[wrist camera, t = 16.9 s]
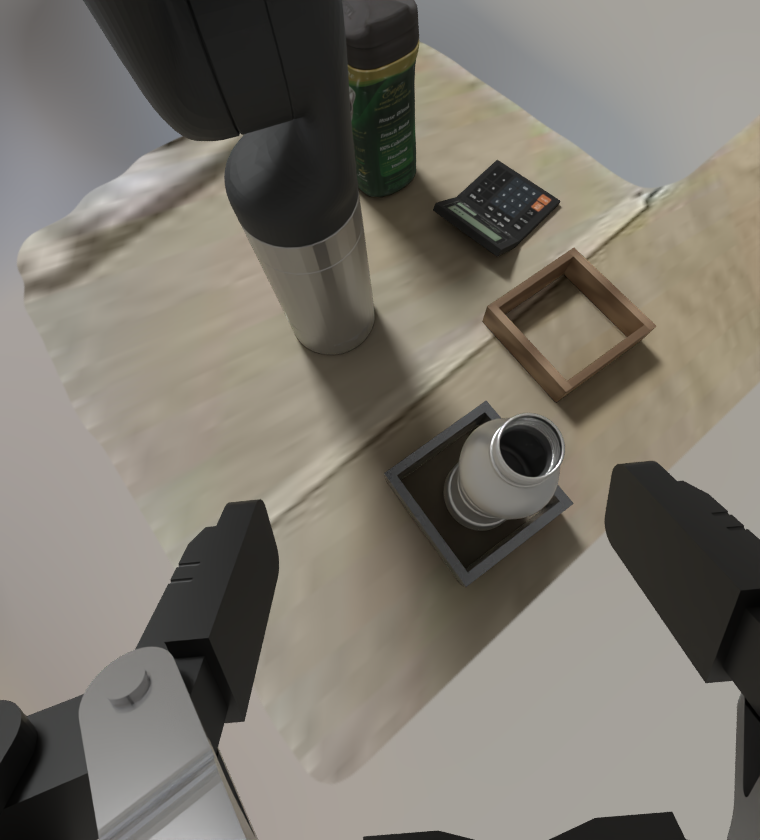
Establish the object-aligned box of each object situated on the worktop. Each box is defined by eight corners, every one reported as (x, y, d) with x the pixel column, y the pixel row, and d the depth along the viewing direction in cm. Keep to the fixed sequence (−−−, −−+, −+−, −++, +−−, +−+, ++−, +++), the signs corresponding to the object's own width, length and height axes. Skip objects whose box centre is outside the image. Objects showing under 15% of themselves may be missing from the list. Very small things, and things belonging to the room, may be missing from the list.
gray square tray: (386, 480, 44) (384, 473, 40) (479, 414, 45) (486, 400, 41) (460, 584, 40) (466, 586, 36) (558, 508, 42) (573, 503, 38)
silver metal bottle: (513, 469, 43) (598, 397, 24) (504, 539, 41) (588, 522, 22) (447, 456, 44) (479, 376, 25) (435, 524, 42) (459, 495, 23)
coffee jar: (426, 180, 54) (436, -4, 37) (371, 210, 53) (353, 36, 36) (385, 130, 57) (375, -63, 39) (331, 158, 56) (297, -27, 38)
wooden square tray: (482, 321, 48) (487, 306, 45) (564, 265, 50) (573, 247, 47) (556, 402, 45) (566, 392, 42) (641, 340, 46) (656, 326, 44)
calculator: (557, 206, 52) (566, 186, 50) (493, 269, 50) (498, 252, 48) (495, 165, 55) (500, 143, 52) (431, 224, 53) (433, 205, 50)
